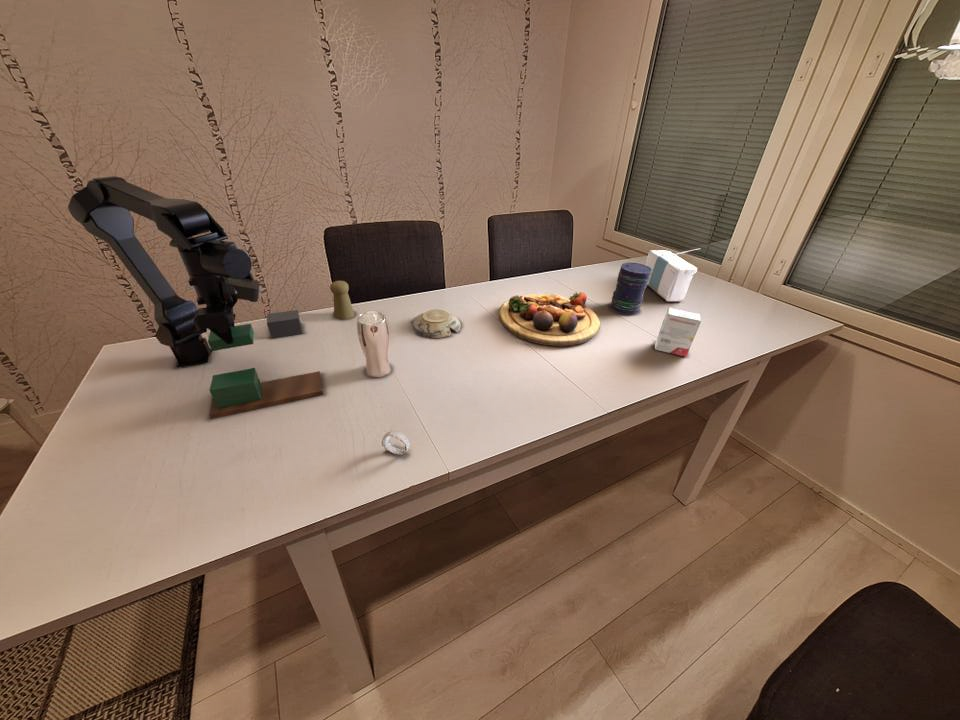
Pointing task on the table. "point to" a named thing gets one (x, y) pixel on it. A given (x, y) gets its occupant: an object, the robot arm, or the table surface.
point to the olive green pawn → (341, 300)
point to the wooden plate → (550, 319)
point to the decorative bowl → (436, 323)
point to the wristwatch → (399, 436)
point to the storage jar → (630, 288)
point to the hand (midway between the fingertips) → (231, 337)
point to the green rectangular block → (240, 338)
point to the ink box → (677, 332)
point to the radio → (669, 274)
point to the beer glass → (374, 342)
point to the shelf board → (276, 393)
